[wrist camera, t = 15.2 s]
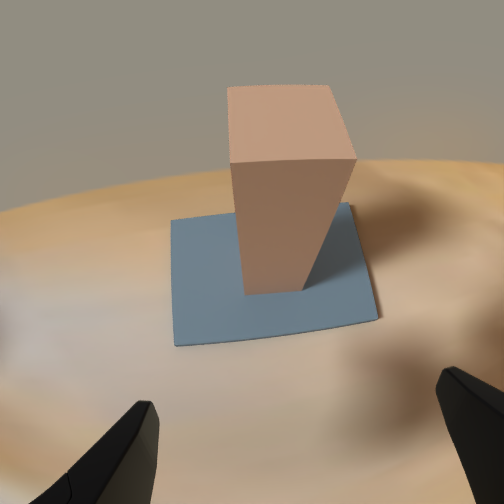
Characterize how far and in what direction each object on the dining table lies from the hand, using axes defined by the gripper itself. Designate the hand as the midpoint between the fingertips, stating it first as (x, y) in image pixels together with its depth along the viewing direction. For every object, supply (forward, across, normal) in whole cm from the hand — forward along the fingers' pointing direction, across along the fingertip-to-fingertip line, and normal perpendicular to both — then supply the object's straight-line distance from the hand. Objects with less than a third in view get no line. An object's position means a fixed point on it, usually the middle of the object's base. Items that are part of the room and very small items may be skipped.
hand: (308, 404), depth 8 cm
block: (+13, 0, +1) cm, 13 cm away
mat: (+13, 0, +2) cm, 13 cm away
